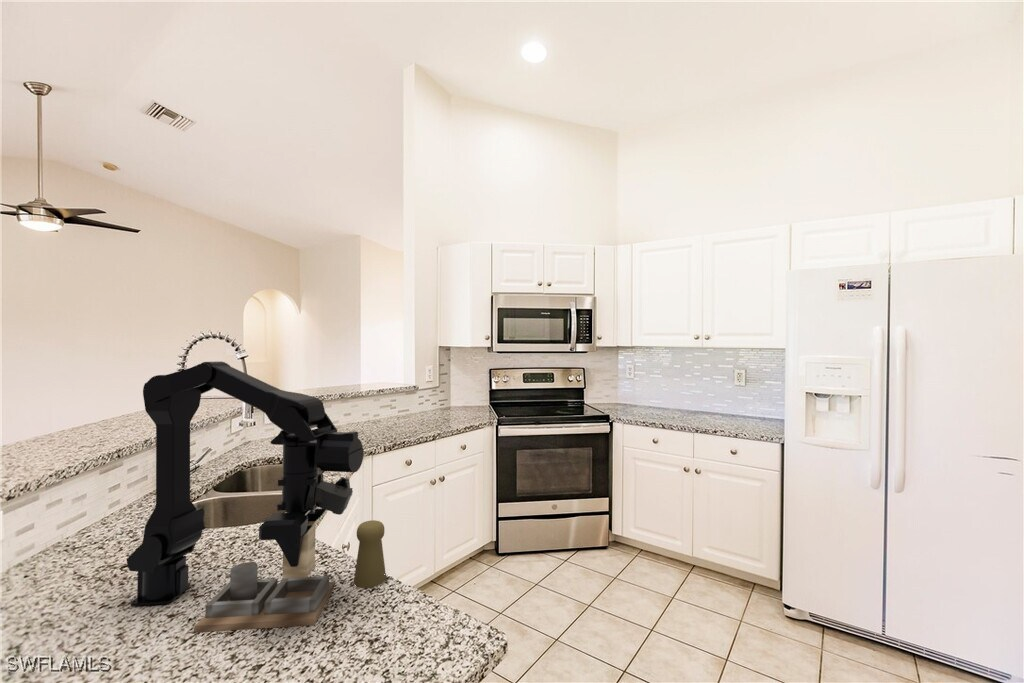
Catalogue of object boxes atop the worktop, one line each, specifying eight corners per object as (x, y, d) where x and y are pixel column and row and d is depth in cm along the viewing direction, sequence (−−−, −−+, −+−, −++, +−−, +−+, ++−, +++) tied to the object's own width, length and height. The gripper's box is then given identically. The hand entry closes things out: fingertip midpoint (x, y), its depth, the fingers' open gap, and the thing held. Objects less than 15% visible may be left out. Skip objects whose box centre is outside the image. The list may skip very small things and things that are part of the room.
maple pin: (282, 578, 76) (283, 530, 77) (291, 567, 80) (292, 521, 81) (307, 577, 77) (308, 529, 77) (314, 566, 81) (315, 521, 81)
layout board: (194, 632, 71) (195, 586, 71) (232, 592, 83) (233, 553, 83) (314, 624, 73) (315, 580, 73) (334, 586, 85) (335, 549, 85)
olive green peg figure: (376, 589, 84) (377, 529, 84) (347, 586, 85) (348, 527, 85) (391, 574, 90) (392, 518, 90) (363, 571, 91) (364, 515, 91)
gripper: (333, 484, 71) (332, 585, 70) (360, 457, 89) (358, 537, 89) (258, 485, 69) (256, 589, 69) (300, 458, 88) (299, 539, 88)
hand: (298, 560), depth 79 cm, fingers closed on maple pin, 4 cm apart
